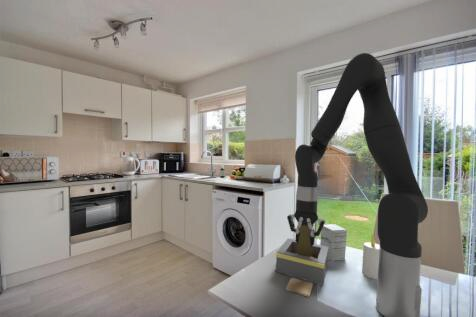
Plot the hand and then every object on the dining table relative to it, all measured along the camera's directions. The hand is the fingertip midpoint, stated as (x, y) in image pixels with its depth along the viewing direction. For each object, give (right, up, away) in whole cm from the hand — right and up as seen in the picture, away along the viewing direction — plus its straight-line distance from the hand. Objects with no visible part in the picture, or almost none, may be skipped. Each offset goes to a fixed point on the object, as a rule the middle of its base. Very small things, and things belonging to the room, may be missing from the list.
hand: (304, 244), depth 85 cm
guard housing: (0, -9, 0) cm, 9 cm away
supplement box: (+15, -10, +12) cm, 21 cm away
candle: (+24, -10, -2) cm, 26 cm away
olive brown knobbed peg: (0, -4, 0) cm, 4 cm away
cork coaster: (-5, -9, -12) cm, 16 cm away
